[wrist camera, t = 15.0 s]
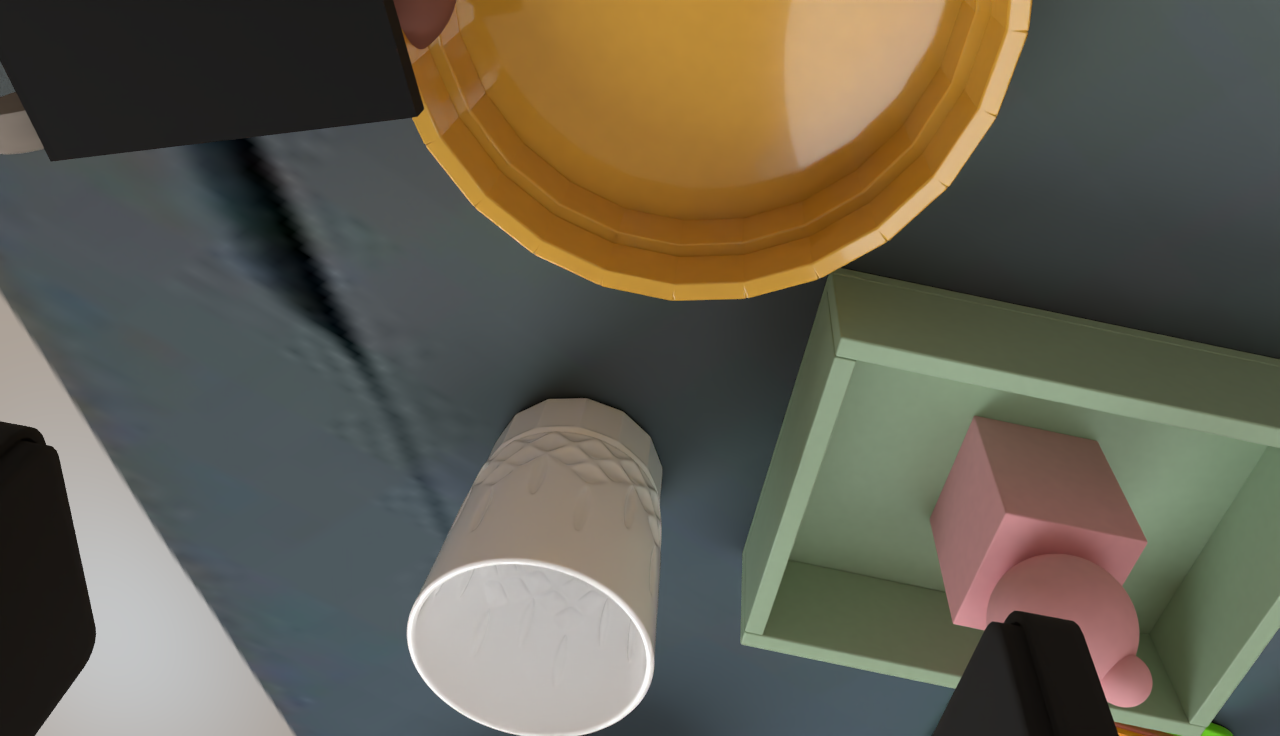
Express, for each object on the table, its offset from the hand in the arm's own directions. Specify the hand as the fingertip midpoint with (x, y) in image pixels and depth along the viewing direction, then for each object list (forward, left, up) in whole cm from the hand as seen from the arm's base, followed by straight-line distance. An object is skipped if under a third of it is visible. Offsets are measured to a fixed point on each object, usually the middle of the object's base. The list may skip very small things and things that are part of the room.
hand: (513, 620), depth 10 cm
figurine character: (+1, -14, -25) cm, 28 cm away
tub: (+13, +15, -25) cm, 32 cm away
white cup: (+17, -1, -25) cm, 30 cm away
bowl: (-2, 0, -25) cm, 25 cm away
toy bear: (+13, +15, -24) cm, 31 cm away
